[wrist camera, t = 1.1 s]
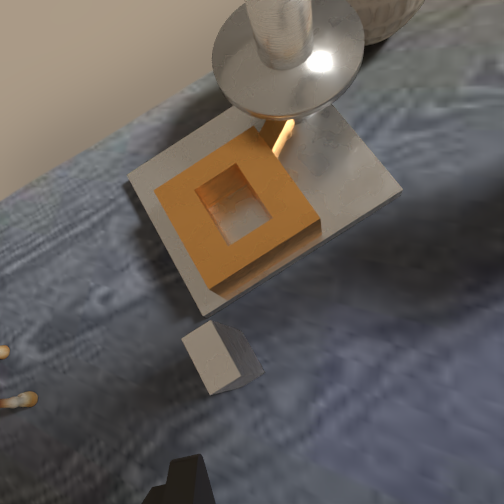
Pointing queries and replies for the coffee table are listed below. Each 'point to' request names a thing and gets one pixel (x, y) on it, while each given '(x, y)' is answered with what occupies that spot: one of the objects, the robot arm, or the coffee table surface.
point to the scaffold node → (267, 153)
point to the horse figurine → (24, 398)
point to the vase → (384, 17)
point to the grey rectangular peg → (222, 357)
